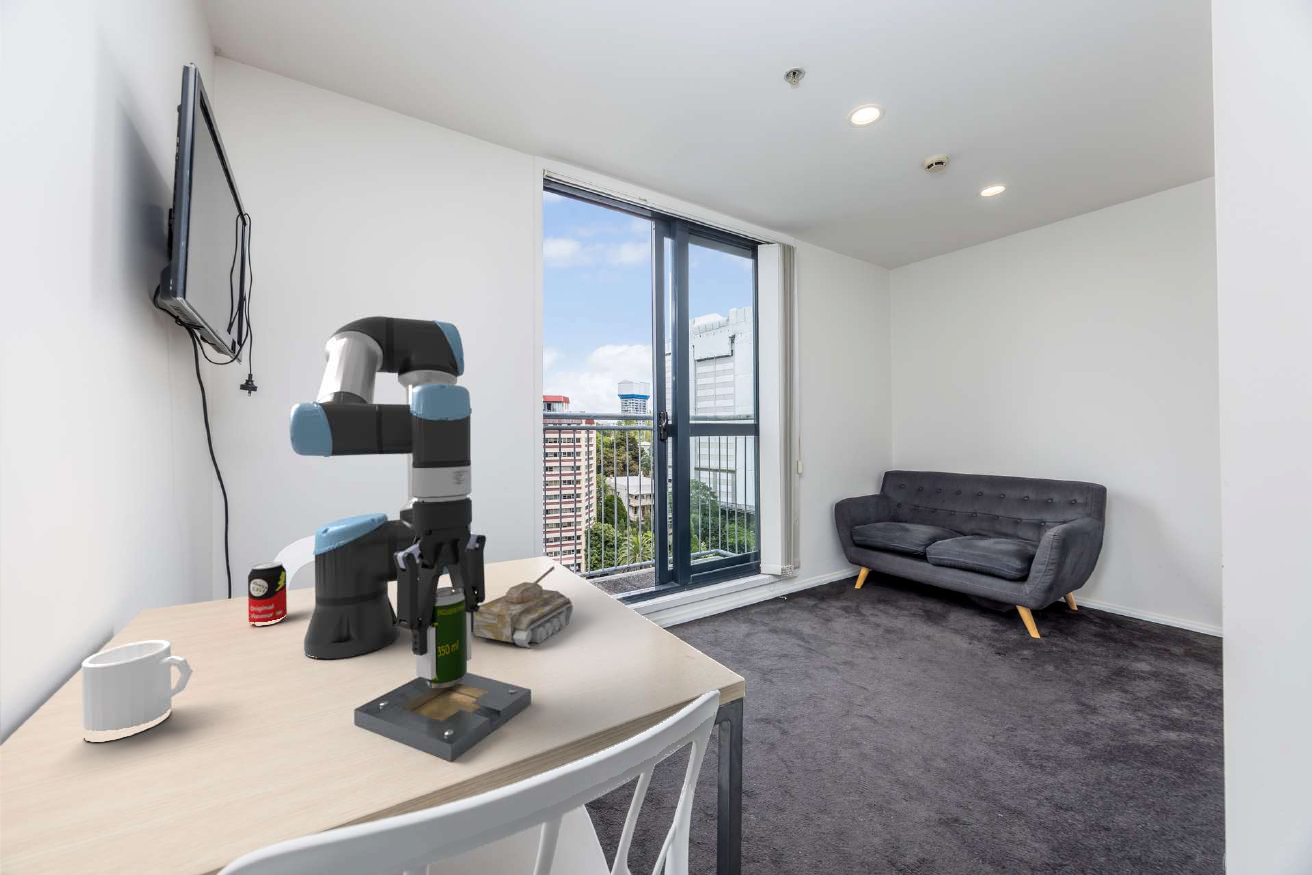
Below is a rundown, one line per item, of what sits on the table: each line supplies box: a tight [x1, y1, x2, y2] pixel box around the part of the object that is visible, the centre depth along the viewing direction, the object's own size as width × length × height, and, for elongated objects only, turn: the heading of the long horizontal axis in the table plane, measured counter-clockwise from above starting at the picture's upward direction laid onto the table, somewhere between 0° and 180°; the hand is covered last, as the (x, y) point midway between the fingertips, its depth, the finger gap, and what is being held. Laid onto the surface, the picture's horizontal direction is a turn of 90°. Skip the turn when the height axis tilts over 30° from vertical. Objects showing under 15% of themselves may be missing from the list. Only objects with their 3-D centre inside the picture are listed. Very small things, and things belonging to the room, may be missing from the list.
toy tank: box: [471, 565, 574, 649], centre depth 100 cm, size 15×20×10 cm
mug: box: [81, 639, 194, 731], centre depth 67 cm, size 8×12×10 cm
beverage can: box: [247, 561, 288, 623], centre depth 104 cm, size 6×6×12 cm
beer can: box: [425, 586, 468, 688], centre depth 68 cm, size 5×5×12 cm
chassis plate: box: [353, 672, 532, 763], centre depth 68 cm, size 18×14×2 cm
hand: (445, 666), depth 68 cm, fingers closed on beer can, 5 cm apart
